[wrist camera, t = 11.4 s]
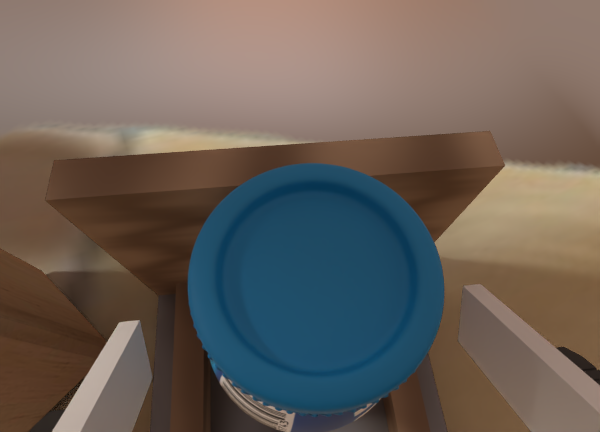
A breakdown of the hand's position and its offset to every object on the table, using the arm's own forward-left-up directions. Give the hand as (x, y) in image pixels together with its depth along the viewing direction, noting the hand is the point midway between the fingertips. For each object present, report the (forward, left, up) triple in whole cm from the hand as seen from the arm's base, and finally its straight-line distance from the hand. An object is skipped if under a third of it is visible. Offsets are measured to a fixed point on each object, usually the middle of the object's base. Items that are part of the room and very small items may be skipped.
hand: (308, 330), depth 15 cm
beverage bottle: (0, 0, -14) cm, 14 cm away
